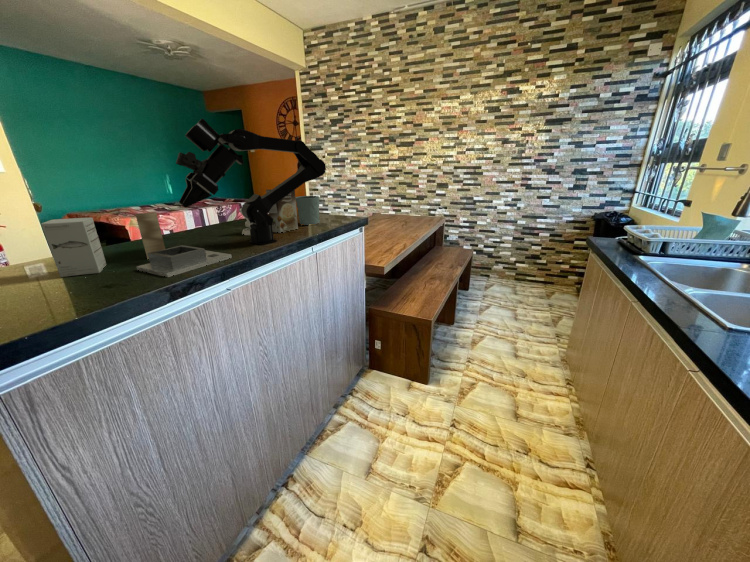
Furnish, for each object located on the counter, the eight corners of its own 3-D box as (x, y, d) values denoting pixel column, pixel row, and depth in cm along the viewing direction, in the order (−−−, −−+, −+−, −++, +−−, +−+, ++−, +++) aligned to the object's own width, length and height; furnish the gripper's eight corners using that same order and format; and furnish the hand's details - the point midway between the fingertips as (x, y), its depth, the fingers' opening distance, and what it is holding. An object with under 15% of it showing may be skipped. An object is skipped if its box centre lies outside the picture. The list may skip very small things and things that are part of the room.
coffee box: (280, 233, 118) (275, 190, 113) (270, 231, 122) (264, 189, 116) (298, 229, 125) (295, 188, 120) (288, 228, 129) (284, 188, 123)
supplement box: (59, 278, 71) (38, 223, 66) (71, 269, 77) (52, 218, 72) (100, 273, 74) (82, 220, 69) (108, 265, 80) (92, 216, 76)
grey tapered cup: (325, 223, 139) (323, 196, 135) (312, 227, 131) (310, 198, 127) (306, 221, 143) (304, 195, 139) (293, 225, 135) (290, 197, 130)
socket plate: (202, 253, 91) (200, 239, 90) (231, 257, 86) (229, 243, 85) (137, 270, 76) (132, 254, 74) (167, 277, 71) (163, 260, 70)
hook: (225, 222, 111) (231, 209, 115) (245, 244, 120) (250, 231, 124) (243, 219, 109) (248, 205, 113) (262, 241, 118) (266, 228, 122)
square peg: (166, 253, 91) (156, 212, 87) (167, 256, 87) (156, 214, 83) (147, 256, 88) (136, 213, 84) (147, 259, 85) (135, 215, 81)
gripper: (188, 144, 92) (152, 183, 90) (196, 139, 78) (154, 186, 75) (220, 172, 99) (188, 208, 97) (234, 172, 85) (196, 215, 82)
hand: (182, 204), depth 88 cm, fingers open, 9 cm apart
